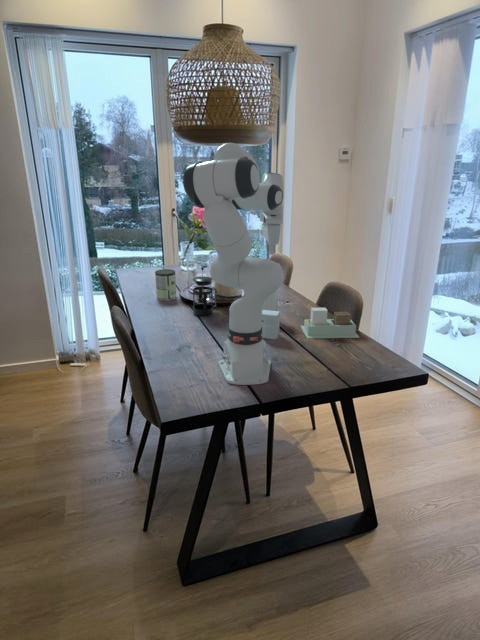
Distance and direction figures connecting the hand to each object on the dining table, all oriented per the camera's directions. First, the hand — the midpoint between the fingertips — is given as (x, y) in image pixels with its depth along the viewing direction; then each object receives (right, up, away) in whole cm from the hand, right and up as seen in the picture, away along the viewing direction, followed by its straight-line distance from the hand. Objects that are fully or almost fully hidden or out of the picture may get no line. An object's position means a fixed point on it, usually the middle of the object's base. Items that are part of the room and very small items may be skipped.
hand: (269, 251), depth 175 cm
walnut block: (+31, -32, +10) cm, 45 cm away
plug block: (+21, -32, +9) cm, 39 cm away
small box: (0, -34, +6) cm, 35 cm away
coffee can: (-51, -16, +54) cm, 75 cm away
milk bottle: (+1, -28, +23) cm, 36 cm away
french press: (-29, -24, +32) cm, 49 cm away
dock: (+26, -33, +10) cm, 43 cm away
